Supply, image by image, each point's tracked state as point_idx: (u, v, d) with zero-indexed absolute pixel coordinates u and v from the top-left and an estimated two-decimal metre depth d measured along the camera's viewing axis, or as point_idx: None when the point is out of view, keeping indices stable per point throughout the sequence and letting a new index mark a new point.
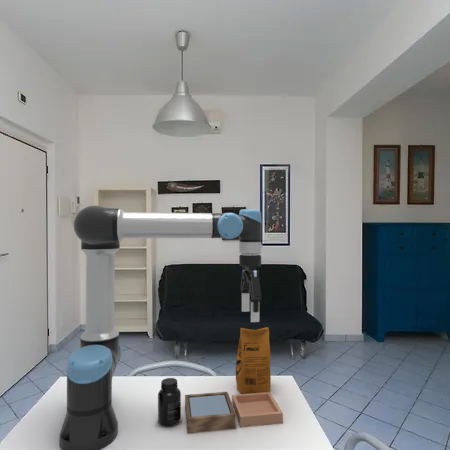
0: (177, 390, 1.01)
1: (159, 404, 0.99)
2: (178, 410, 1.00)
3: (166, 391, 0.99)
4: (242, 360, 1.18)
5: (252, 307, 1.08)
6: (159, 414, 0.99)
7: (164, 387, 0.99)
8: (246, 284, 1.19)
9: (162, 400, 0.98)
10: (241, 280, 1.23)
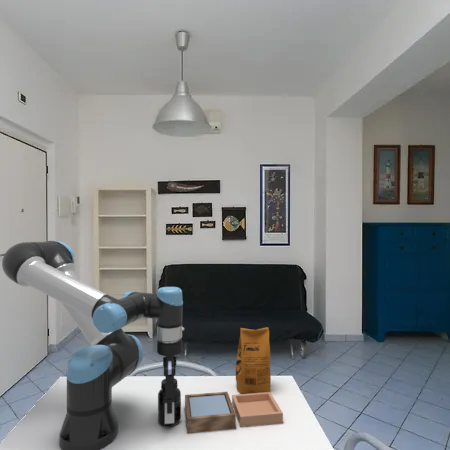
0: (177, 390, 1.01)
1: (159, 404, 0.99)
2: (178, 410, 1.00)
3: None
4: (242, 360, 1.18)
5: (166, 407, 0.97)
6: (159, 414, 0.99)
7: (164, 387, 0.99)
8: None
9: (162, 399, 0.98)
10: None
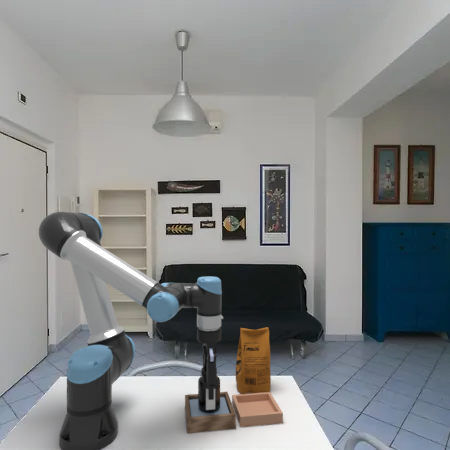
0: (217, 377, 1.03)
1: (200, 391, 1.01)
2: (218, 397, 1.02)
3: None
4: (242, 360, 1.18)
5: (207, 393, 0.99)
6: (200, 400, 1.01)
7: (205, 374, 1.01)
8: None
9: (203, 386, 1.00)
10: (203, 358, 1.09)
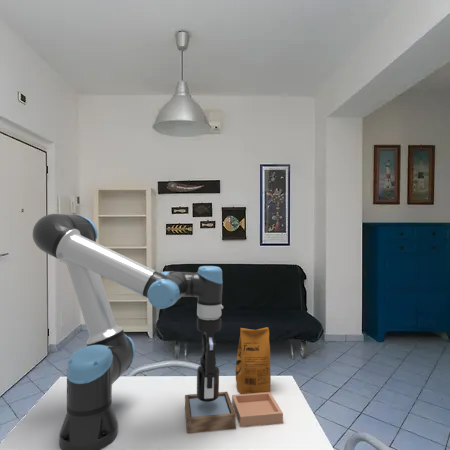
0: (216, 367, 1.03)
1: (198, 380, 1.01)
2: (217, 386, 1.02)
3: None
4: (242, 360, 1.18)
5: (206, 382, 0.99)
6: (198, 389, 1.01)
7: (204, 363, 1.01)
8: None
9: (202, 375, 1.00)
10: (202, 347, 1.09)
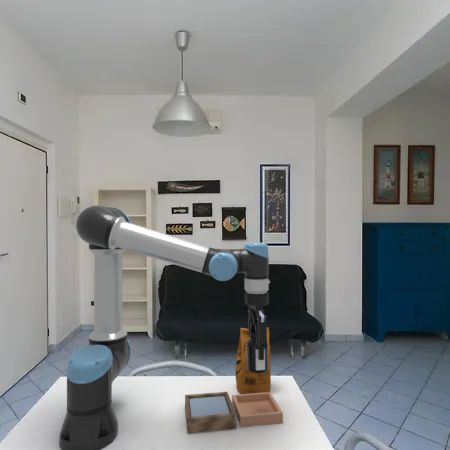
0: None
1: (249, 352, 1.04)
2: (267, 358, 1.04)
3: None
4: (242, 360, 1.18)
5: (257, 354, 1.01)
6: (249, 362, 1.04)
7: (254, 336, 1.04)
8: (254, 326, 1.08)
9: (252, 347, 1.03)
10: (248, 323, 1.12)
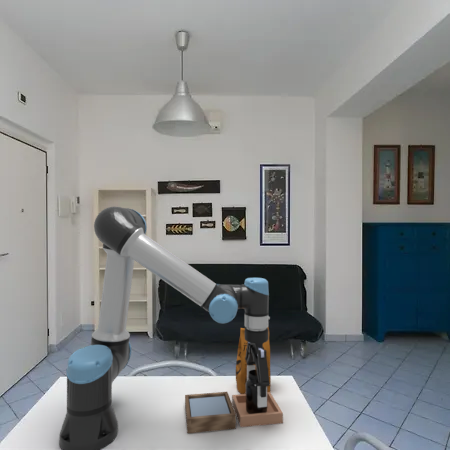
0: None
1: (248, 394, 1.03)
2: None
3: (255, 382, 1.03)
4: (242, 360, 1.18)
5: (259, 391, 0.98)
6: (248, 404, 1.03)
7: (253, 378, 1.04)
8: (252, 357, 1.10)
9: (251, 390, 1.03)
10: (246, 350, 1.14)
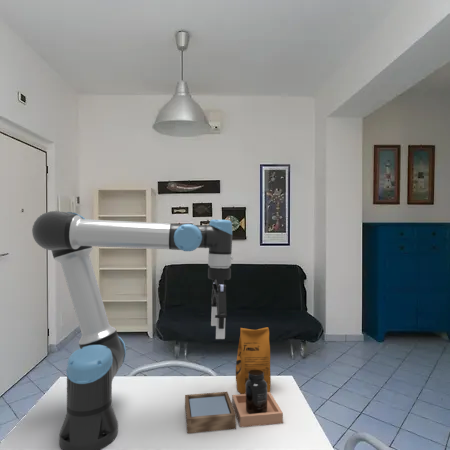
0: (264, 381, 1.05)
1: (248, 394, 1.03)
2: (266, 400, 1.04)
3: (255, 382, 1.03)
4: (242, 360, 1.18)
5: (217, 323, 1.02)
6: (248, 404, 1.03)
7: (253, 378, 1.04)
8: (216, 297, 1.14)
9: (251, 390, 1.03)
10: (212, 293, 1.18)
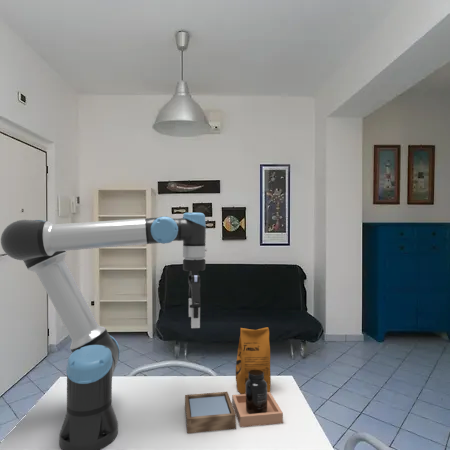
0: (264, 381, 1.05)
1: (248, 394, 1.04)
2: (266, 400, 1.04)
3: (255, 382, 1.03)
4: (242, 360, 1.18)
5: (192, 313, 1.05)
6: (248, 404, 1.03)
7: (253, 378, 1.04)
8: None
9: (251, 390, 1.03)
10: None
